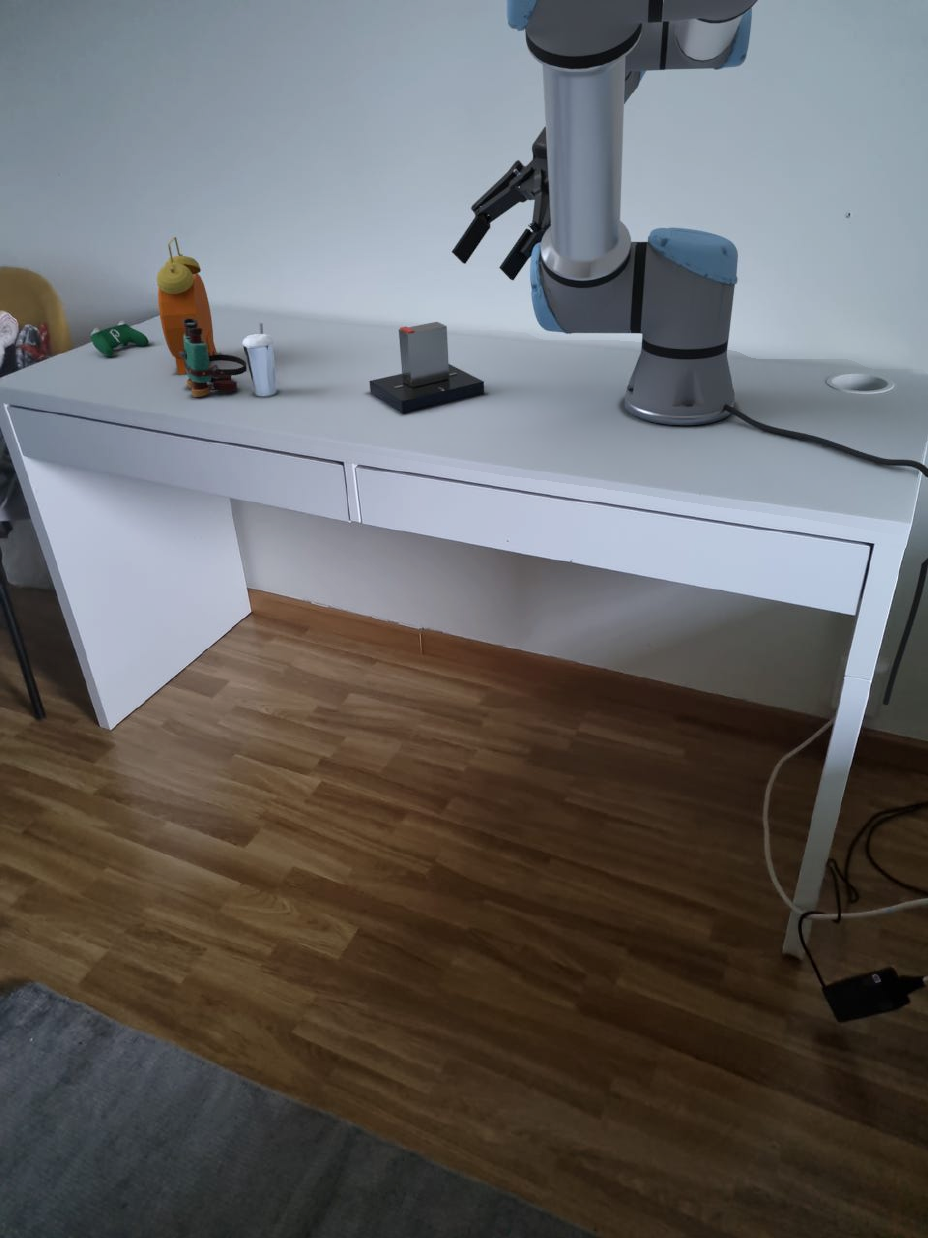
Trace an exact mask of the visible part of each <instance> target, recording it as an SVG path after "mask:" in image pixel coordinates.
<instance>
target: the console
mask: <svg viewBox="0 0 928 1238" xmlns="http://www.w3.org/2000/svg"><path fill="white" fill-rule="evenodd" d="M369 390H370V391H369V392H370V394H371V395H373V396H374V397H375V398H377V399H378V400H380V401H382V402H384V403H385V404H386V405H388V406H390V407H392V408H393V409H394V410H396V411H398V412H399V413H401V414H402V415H404V414H409V413H413V412H416V411H421V410H425V409H429V408H434V407H438V406H441V405H445V404H446V405H447V404H449V403H454V402H459V401H462V400H466V399H471V398H474V397H479V396H482V395H485V381H483V380H482V379H480V378H478V377H475V376H473V375H472V374H470V373H468V372H466V371H464V370H462V369H461V368H458V367H456V366H455V365H453V364H450V363H449V379H447V380H443V381H439V382H434V383H430V384H426V385H421V386H417V387H413V388H412V387H410V386H408V385H407V384H405V383H403V378H402V373H398V374H394V375H390V376H385V377H381V378H376V379H371V380H369Z"/></svg>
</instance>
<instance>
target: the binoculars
mask: <svg viewBox="0 0 928 1238" xmlns="http://www.w3.org/2000/svg"><path fill="white" fill-rule="evenodd" d="M183 325H184V327H185V329H186V333H185V334H184V351H180V352H179V356H180V357H182V358H184V359H185V360H184V365H185V367H186V372H187V374H186V375H187V376H188V379H186V382H187V388H189V389H191V395H192V397H194V398H200V397H204V396H206V395H208V394H209V393H211V392H212V391H219V392H236V391H238V382H237V381H235V380H232V376H239V375H242V374H244V373H246V372H247V371H248V370H247V369H248V368H247V361H246V360H245V359H243V358H242V357H239V356H236V355H232V354H222V353H219V354H218V353H217V354H214V355H209V352H208V350H207V344H206V343H205V342H204V341H203V340H201V334H202V328H196V327H197V320H195V319H192V318H187V319H184V320H183ZM220 361H222V362H230V363H236V364H239V365H241V367H237V368H219V367H218V365H217V364H214V365H211V368H210V362H211V363H212V362H220ZM213 368H215V369H214V370H213ZM208 383H211V384H213V388H212V386H211V385H210V384H208Z"/></svg>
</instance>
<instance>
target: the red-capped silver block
mask: <svg viewBox="0 0 928 1238" xmlns="http://www.w3.org/2000/svg"><path fill="white" fill-rule="evenodd" d="M398 338H399V351H400V362H401V363H400V364H401V374H402V378H403V383H405V384H407V385H408V386H410V387H412V388H413V387H417V386H421V385H426V384H430V383H434V382H439V381H443V380H447V379H449V364H450V362H449V344H448V342H449V341H448V327H447V325H445V324H444V323H442V322H438V321H433V322H429V323H424V324H418V325H413V326H400V327H399V329H398Z"/></svg>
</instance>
